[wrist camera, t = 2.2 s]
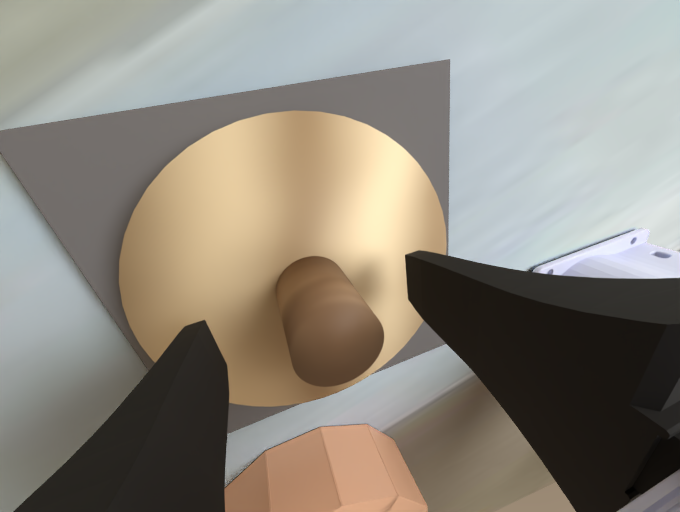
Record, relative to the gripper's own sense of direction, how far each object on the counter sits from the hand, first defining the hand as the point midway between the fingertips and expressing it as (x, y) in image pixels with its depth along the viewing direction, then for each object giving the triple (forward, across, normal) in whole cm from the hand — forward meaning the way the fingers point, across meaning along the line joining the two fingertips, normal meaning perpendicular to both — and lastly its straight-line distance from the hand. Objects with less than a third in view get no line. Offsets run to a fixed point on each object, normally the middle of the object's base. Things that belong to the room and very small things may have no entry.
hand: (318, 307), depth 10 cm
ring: (+3, +3, +16) cm, 16 cm away
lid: (+2, 0, 0) cm, 2 cm away
